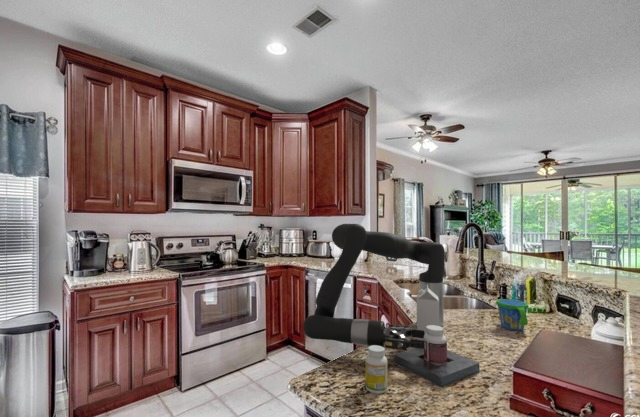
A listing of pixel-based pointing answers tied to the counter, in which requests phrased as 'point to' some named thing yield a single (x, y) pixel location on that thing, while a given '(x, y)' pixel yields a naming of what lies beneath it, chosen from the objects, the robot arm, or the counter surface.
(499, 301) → the snack cup
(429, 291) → the milk carton
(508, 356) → the counter surface
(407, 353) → the holder block
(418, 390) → the counter surface
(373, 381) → the supplement bottle
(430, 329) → the pill bottle
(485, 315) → the counter surface
